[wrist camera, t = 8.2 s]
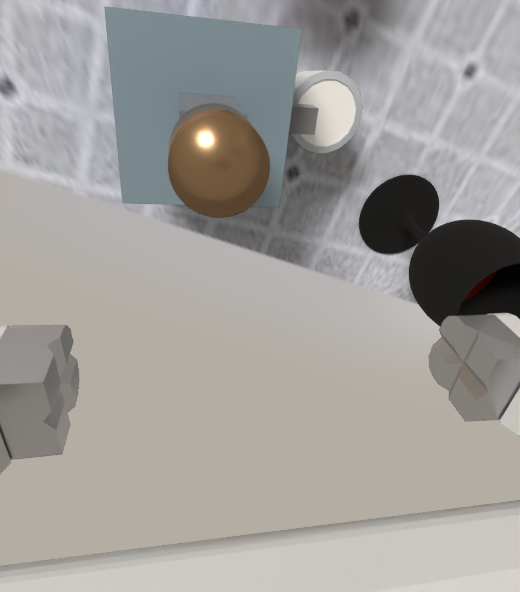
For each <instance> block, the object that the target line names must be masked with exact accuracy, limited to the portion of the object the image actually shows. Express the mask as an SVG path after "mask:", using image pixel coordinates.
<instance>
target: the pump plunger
mask: <svg viewBox="0 0 520 592" xmlns="http://www.w3.org/2000/svg"><path fill="white" fill-rule="evenodd" d="M168 174H169V179H170V182H171V185H172V187H173V189H174V191H175V193H176V195H177V196H178V197H179V199H180V200H181V201H182V202H183V203H184V204H185V205H186V206H187V207H189V208H190V209H192V210H193V211H195V212H197V213H199V214H202V215H205V216H209V217H216V218H222V217H230V216H234V215H237V214H239V213H241V212H243V211H245V210H247V209H248V208H250V207H251V206H252V205H253V204H254V203H255V202H256V201H257V200H258V199H259V198H260V196H261V195H262V193H263V192H264V190H265V188H266V185H267V182H268V179H269V174H270V158H269V154H268V150H267V148H266V145H265V143H264V141H263V139H262V138H261V137H260V135H259V134H258V132H257V131H256V130H255V128H254V127H253V126H252V124H251V123H250V122H249V120H248V119H247V118H246V117H245V116H244V115H243V114H242V113H240V112H239V111H237V110H236V109H234V108H232V107H230V106H227V105H224V104H219V103H207V104H202V105H199V106H196V107H194V108H192V109H190V110H189V111H187V112H186V113H185V114H184V115H182V116H181V118H180V119H179V120H178V121H177V123H176V124H175V126H174V128H173V130H172V133H171V136H170V140H169V153H168Z"/></svg>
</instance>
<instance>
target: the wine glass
mask: <svg viewBox="0 0 520 592" xmlns="http://www.w3.org/2000/svg"><path fill="white" fill-rule="evenodd" d="M438 210H439V198H438V194H437V191H436V190H435V188H434V186H433V185H432V184H431V183H430V182H429V181H427V180H426V179H424V178H422V177H420V176H416V175H401V176H397V177H394V178H392V179H389V180H387V181H386V182H384V183H383V184H381V185H380V186H379V187H377V188H376V189H375V190H374V191H373V192H372V193H371V195H370V196H369V197H368V199H367V200H366V202H365V204H364V205H363V208H362V210H361V214H360V218H359V229H360V233H361V236H362V238H363V240H364V241H365V243H366V244H367V245H368V246H369V247H370V248H372V249H373V250H375V251H377V252H380V253H398V252H402V251H405V250H407V249H409V248H411V247H413V246H415V245H416V244H417V243H419V244H418V245H417V247H416V248H415V250H414V252H413V255H412V258H411V261H410V266H409V281H410V286H411V290H412V292H413V295H414V297H415V299H416V301H417V302H418V304H419V306H420V307H421V308H422V310H423V311H424V312H425V313H426V314H427V316H429V317H430V318H431V319H432V320H433V321H434V322H435V323H436V324H438V325H439V326H440V327H441V325H442V322H443V321H444V320H445V319H446V318H447V317H448V316H459V315H487V314H495V313H510V314H512V315H515V316H516V317H518V318H519V319H520V238H519V237H518V236H516V235H515V234H514V233H512V232H510V231H509V230H507V229H505V228H503V227H501V226H498V225H496V224H493V223H490V222H486V221H481V220H458V221H453V222H450V223H446V224H444V225H441V226H439V227H437V228H435V229H434V230H432V231H431V232H429V231H430V230H431V228H432V227H433V225H434V223H435V221H436V218H437V215H438Z"/></svg>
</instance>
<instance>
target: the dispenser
mask: <svg viewBox="0 0 520 592" xmlns="http://www.w3.org/2000/svg"><path fill="white" fill-rule="evenodd" d="M105 18H106V28H107V39H108V50H109V61H110V72H111V83H112V94H113V105H114V116H115V126H116V137H117V148H118V159H119V170H120V181H121V192H122V203H132V204H170V205H185V204H184V203H183V202H182V201H181V200H180V199H179V197H178V196H177V195H176V193H175V191H174V189H173V187H172V185H171V182H170V179H169V174H168V153H169V140H170V136H171V133H172V130H173V128H174V126H175V124H176V123H177V121H178V120H179V119H180V118H181V116H182V115H184V114H185V113H186V112H187V111H189V110H190V109H192V108H194V107H196V106H199V105H202V104H207V103H219V104H224V105H227V106H230V107H232V108H234V109H236V110H237V111H239V112H240V113H242V114H243V115H244V116H245V117H246V118H247V119H248V120H249V122H250V123H251V124H252V126H253V127H254V128H255V130H256V131H257V132H258V134H259V135H260V137H261V138H262V139H263V141H264V143H265V145H266V148H267V150H268V154H269V158H270V174H269V179H268V182H267V185H266V188H265V190H264V192H263V193H262V195H261V196H260V198H259V199H258V200H257V201H256V202H255V203H254V204H253V205H252V206H251V207H280V200H281V192H282V184H283V176H284V167H285V159H286V151H287V143H288V135H289V133H290V134H306V135H315V129H316V122H317V116H318V109H319V108H317V107H316V106H314V105H307V104H294V103H293V95H294V87H295V79H296V71H297V63H298V54H299V46H300V38H301V30H302V29H297V28H288V27H279V26H270V25H261V24H253V23H244V22H235V21H226V20H218V19H209V18H200V17H191V16H182V15H174V14H165V13H156V12H147V11H139V10H130V9H121V8H112V7H105Z"/></svg>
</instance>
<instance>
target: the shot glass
mask: <svg viewBox="0 0 520 592" xmlns="http://www.w3.org/2000/svg"><path fill="white" fill-rule="evenodd" d="M293 103H294V104H307V105H314V106H316V107H317V108H319V109H318V116H317V122H316V129H315V135H306V134H291V135H292V136H293V137H294V139H295V140H296V141H297V142H298V144H299V145H300V146H301V147H302V148H304V149H306V150H308V151H310V152H313V153H329V152H332V151H334V150H337V149H339V148H341V147H342V146H343V145H344V144H345V143H347V142H348V141H349V140H350V139H351V138H352V137H353V135H354V133H355V131H356V130H357V128H358V126H359V124H360V120H361V115H362V109H363V105H362V100H361V94H360V91H359V89H358V88H357V86H356V85H355V83H354V82H353V80H352V79H351V78H349V77H348V76H346V75H344V74H343V73H341V72H339V71H302V72H300V73H298V74H296V79H295V87H294V95H293Z"/></svg>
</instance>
